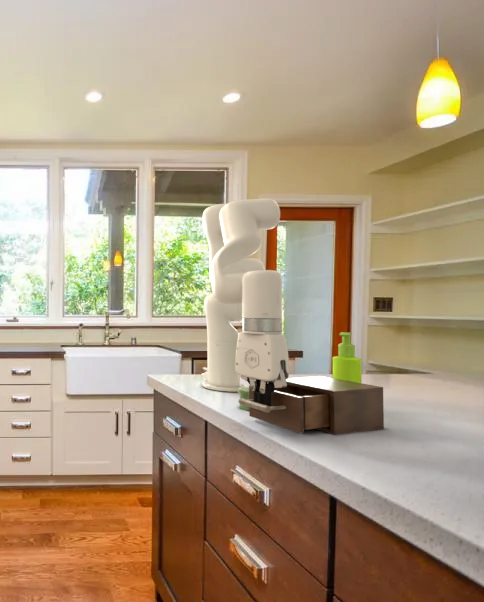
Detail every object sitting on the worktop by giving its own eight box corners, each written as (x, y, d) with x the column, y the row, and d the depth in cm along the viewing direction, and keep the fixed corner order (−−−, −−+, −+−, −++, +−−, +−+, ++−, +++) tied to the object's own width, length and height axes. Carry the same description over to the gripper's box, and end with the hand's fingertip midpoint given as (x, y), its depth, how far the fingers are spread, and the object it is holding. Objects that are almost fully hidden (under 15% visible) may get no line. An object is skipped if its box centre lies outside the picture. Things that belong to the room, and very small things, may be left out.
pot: (233, 406, 99) (232, 387, 99) (249, 405, 100) (249, 386, 100) (249, 412, 94) (249, 392, 94) (266, 410, 95) (266, 391, 95)
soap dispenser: (330, 407, 98) (329, 332, 98) (335, 402, 103) (334, 331, 103) (359, 412, 94) (358, 333, 94) (363, 407, 98) (362, 332, 98)
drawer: (277, 436, 74) (277, 399, 74) (229, 418, 86) (229, 386, 86) (347, 427, 79) (347, 393, 79) (293, 411, 91) (292, 382, 91)
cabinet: (334, 434, 77) (334, 391, 77) (276, 416, 90) (275, 379, 90) (383, 428, 81) (383, 387, 81) (321, 411, 94) (320, 375, 94)
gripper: (221, 325, 87) (222, 402, 87) (279, 329, 73) (280, 422, 73) (247, 324, 89) (248, 400, 89) (308, 328, 75) (309, 418, 75)
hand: (262, 409), depth 81 cm, fingers closed
